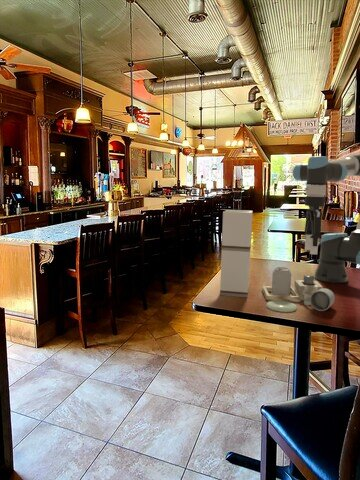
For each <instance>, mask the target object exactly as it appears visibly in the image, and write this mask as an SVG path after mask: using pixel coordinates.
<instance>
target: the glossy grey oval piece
mask: <svg viewBox="0 0 360 480" xmlns="http://www.w3.org/2000/svg"><path fill="white" fill-rule="evenodd" d="M303 280H304V281H303V285H314V281H315V275H312V274H311V275H310V274H307V275H306V274H304V275H303Z"/></svg>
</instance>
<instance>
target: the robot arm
mask: <svg viewBox="0 0 360 480" xmlns="http://www.w3.org/2000/svg"><path fill="white" fill-rule="evenodd" d="M352 176H354V177H355V176H357V177H360V153H358V154H354V155H353V154H352V155H348V156H345V157H344V158H340V159H339V158H338V159H333V160H331V159H330V160H329V157H328V156H326V155H325V156H323V155H321V156H320V155H314V156H309V158H308V161H307V163H297V164H296V165H295V166H294V167H293V169H292V177H293V179H294V180H295V181H297V182H306V183H305V184H306V185H305V187H304V190H305V195H306V196H305V197H304V205H305V206H307V207H308V208H307V209H306V217H305V224H304V233H305V242H304V243H305V244H304V250H305V251H309V254H310V255H318V250H319V249H318V248H319V239H320V238H321V240H320V251H319V262H318V265H317V268H316V269H315V272H314V279H316V281H319V282H325V283H332V284H333V283H334V284H342V283H347V282H348V274H347V269H346V262H347V263H351V264H357V265H359V266H360V217H358V221H357V224H356V229H355V230H353V231H351V233H350V236H349V235H348V233H346V232H337V233H335V232H334V233H333V232H331V233H324V234H322V215H323V211H321V210H320V207H324V206H325V205H326V203H325V202H326V198H325V196H326V194H327V182H335V183H337V182H342V181H343V180H345V179H346V178H347V177H352Z"/></svg>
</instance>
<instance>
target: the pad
mask: <svg viewBox="0 0 360 480" xmlns="http://www.w3.org/2000/svg"><path fill="white" fill-rule="evenodd" d="M266 307H267V308H268V309H270V310H271V311H275V312H280V313H293V312H296V311H297V305H296V303H294V302H293V303H292V302H290V301H280V300H275V301H269V300H268V302H267V303H266Z"/></svg>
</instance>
